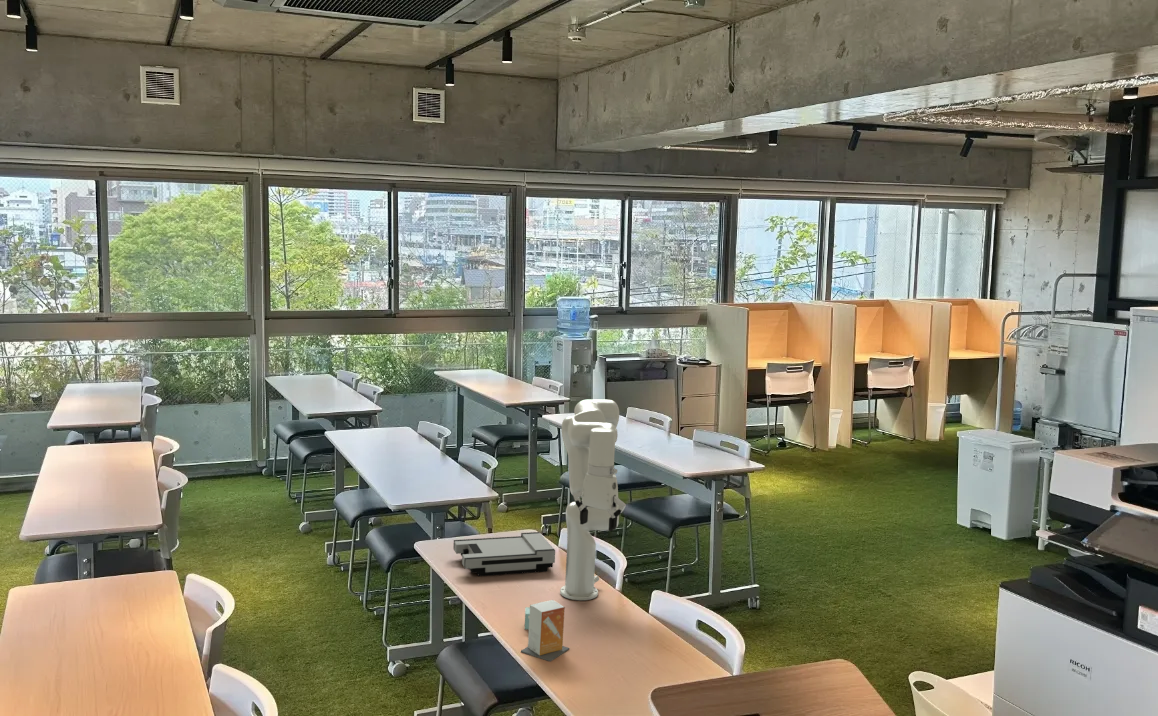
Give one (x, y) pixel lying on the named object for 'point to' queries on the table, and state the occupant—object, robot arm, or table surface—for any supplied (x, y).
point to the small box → (546, 627)
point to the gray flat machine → (506, 554)
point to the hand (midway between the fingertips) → (597, 526)
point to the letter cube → (527, 617)
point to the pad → (545, 656)
